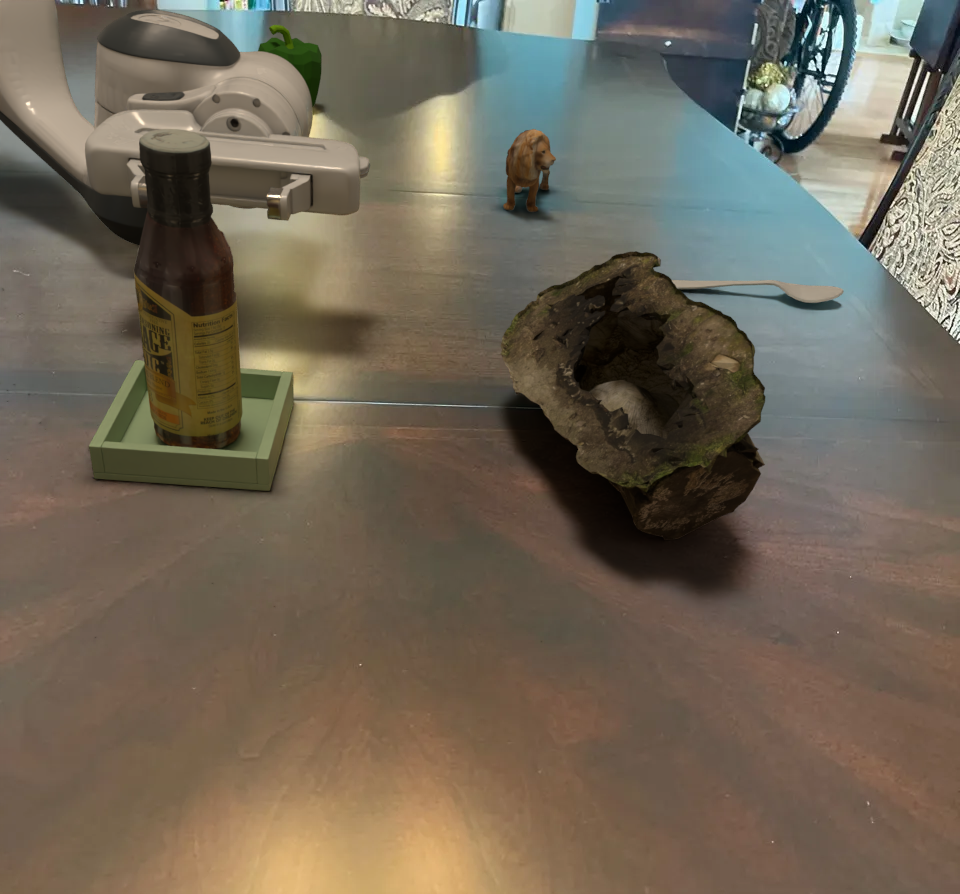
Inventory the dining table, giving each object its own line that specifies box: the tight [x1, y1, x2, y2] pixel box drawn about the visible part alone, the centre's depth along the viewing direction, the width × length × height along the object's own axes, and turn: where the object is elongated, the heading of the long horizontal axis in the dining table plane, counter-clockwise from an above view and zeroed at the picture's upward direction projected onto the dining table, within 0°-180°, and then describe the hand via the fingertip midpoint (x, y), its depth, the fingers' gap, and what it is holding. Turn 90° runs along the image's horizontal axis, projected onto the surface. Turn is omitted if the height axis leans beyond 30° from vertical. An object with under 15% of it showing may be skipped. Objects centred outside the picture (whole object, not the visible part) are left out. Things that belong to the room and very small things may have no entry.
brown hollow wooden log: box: [500, 250, 766, 541], centre depth 73 cm, size 28×13×15 cm
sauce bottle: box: [133, 129, 242, 449], centre depth 68 cm, size 6×6×20 cm
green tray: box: [88, 359, 295, 492], centre depth 74 cm, size 12×13×2 cm
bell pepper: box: [257, 24, 323, 109], centre depth 138 cm, size 8×8×10 cm
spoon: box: [671, 279, 845, 304], centre depth 104 cm, size 4×21×2 cm, turn 88°
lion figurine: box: [502, 128, 557, 213], centre depth 118 cm, size 15×5×9 cm, turn 176°
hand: (209, 203), depth 74 cm, fingers open, 8 cm apart
